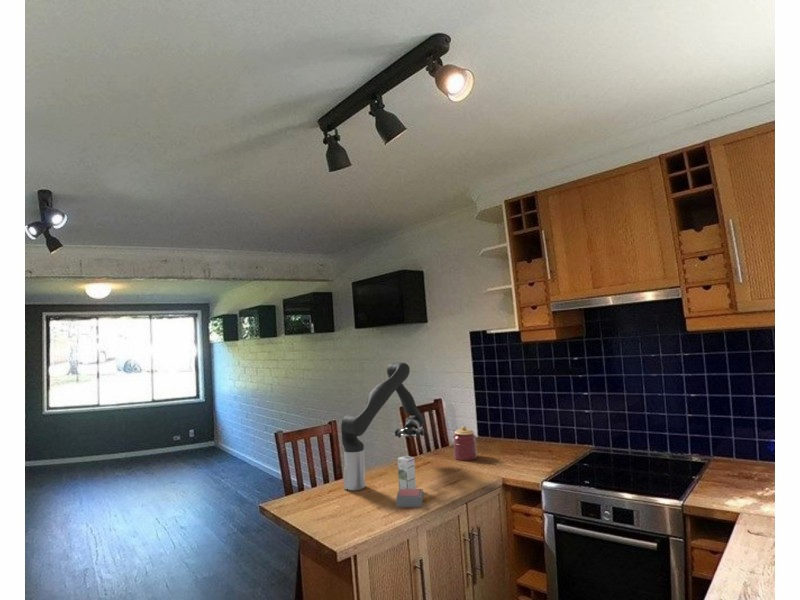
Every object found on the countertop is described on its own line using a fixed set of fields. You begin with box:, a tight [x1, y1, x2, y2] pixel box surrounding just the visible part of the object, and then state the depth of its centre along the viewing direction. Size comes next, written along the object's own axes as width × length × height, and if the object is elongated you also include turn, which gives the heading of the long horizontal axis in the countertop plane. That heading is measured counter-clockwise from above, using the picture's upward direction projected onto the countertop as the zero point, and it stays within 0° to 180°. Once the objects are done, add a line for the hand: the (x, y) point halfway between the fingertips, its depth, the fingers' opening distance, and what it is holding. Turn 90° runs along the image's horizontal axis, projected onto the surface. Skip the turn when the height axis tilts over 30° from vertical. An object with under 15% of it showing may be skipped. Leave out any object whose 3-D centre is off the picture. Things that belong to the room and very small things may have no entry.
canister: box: [452, 425, 478, 461], centre depth 257 cm, size 13×13×18 cm
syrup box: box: [397, 455, 417, 490], centre depth 208 cm, size 6×6×14 cm
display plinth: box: [396, 488, 424, 508], centre depth 192 cm, size 10×10×4 cm
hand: (408, 435), depth 220 cm, fingers open, 8 cm apart
